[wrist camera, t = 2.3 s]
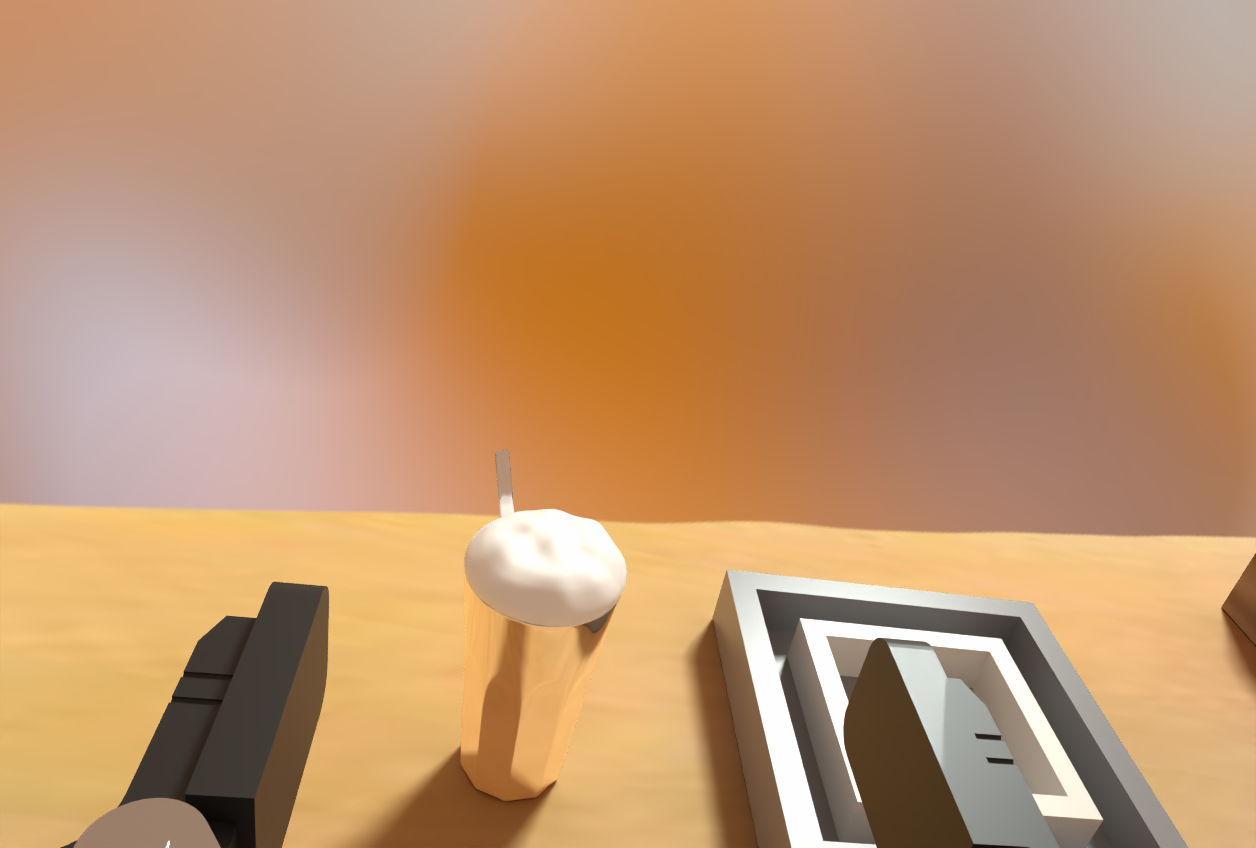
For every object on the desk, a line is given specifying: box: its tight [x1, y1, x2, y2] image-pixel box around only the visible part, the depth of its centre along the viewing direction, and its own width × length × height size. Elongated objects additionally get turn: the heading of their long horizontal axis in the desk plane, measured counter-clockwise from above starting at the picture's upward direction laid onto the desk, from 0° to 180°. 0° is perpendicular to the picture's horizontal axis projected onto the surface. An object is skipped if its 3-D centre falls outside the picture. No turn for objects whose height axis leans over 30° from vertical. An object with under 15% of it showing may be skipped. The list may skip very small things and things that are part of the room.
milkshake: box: [461, 450, 627, 801], centre depth 29 cm, size 4×5×10 cm
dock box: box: [713, 570, 1188, 848], centre depth 33 cm, size 13×13×2 cm
